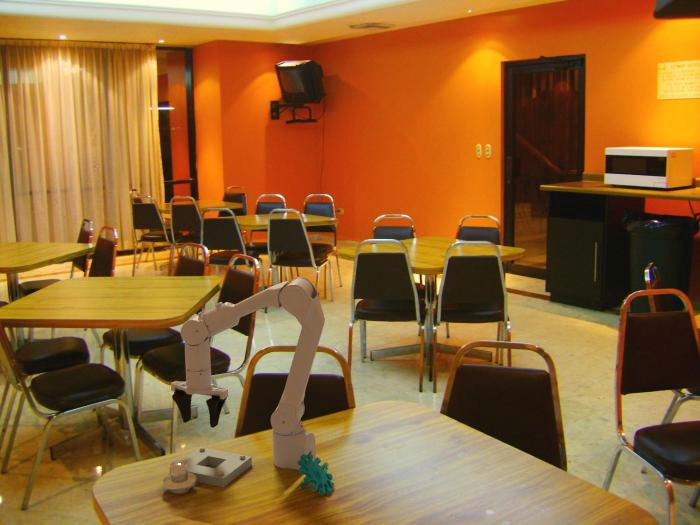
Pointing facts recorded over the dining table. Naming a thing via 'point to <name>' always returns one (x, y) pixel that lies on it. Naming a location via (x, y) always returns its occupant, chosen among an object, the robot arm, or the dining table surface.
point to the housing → (225, 462)
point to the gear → (315, 474)
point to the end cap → (179, 478)
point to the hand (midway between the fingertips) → (200, 423)
